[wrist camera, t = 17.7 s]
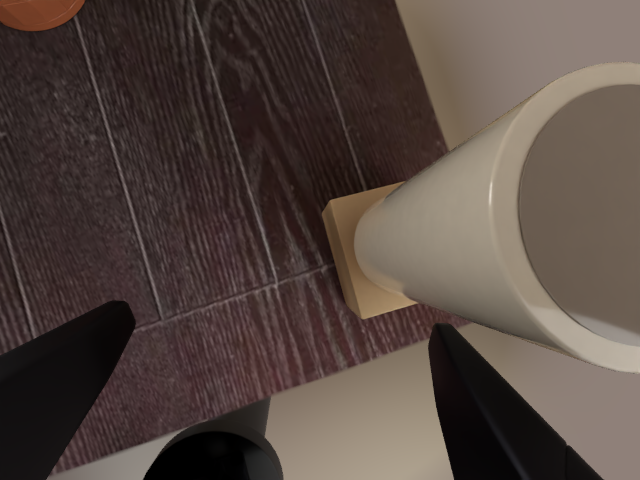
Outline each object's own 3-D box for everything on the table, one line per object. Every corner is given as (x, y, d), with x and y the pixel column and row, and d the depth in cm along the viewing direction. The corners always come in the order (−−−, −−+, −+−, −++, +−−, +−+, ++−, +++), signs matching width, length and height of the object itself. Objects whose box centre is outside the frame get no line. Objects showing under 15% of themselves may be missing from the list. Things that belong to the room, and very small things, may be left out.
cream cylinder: (416, 314, 17) (696, 441, 5) (333, 256, 17) (431, 251, 5) (469, 231, 18) (829, 178, 6) (390, 174, 18) (596, -3, 6)
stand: (435, 280, 23) (475, 286, 18) (346, 306, 22) (361, 320, 17) (410, 190, 23) (442, 171, 18) (321, 213, 22) (329, 200, 17)
